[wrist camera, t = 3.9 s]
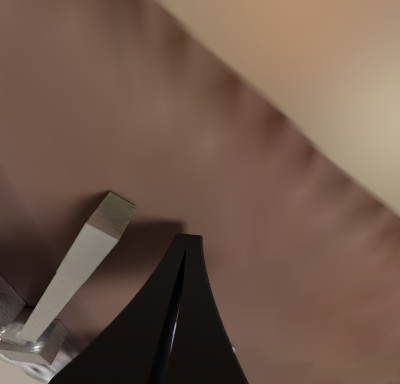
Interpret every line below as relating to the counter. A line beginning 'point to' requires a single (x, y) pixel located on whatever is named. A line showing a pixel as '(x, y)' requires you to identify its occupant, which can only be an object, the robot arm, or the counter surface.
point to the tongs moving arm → (73, 268)
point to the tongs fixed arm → (31, 352)
